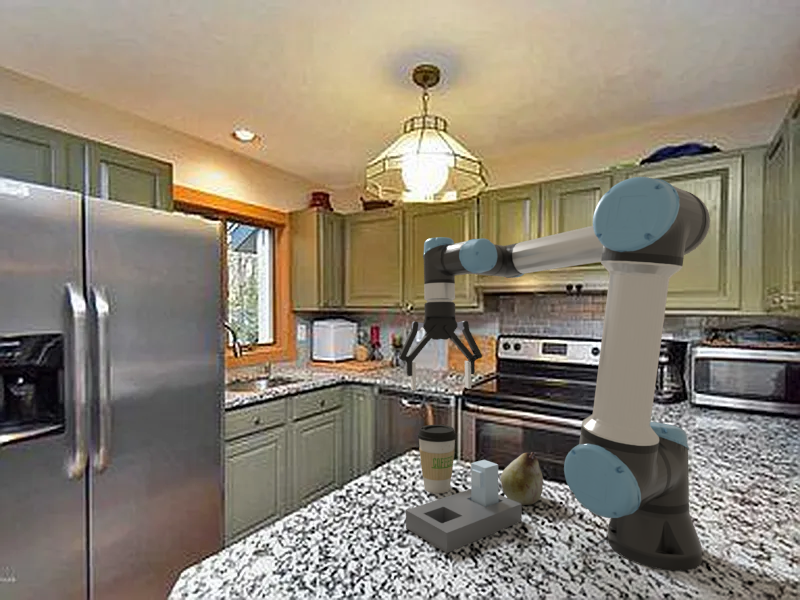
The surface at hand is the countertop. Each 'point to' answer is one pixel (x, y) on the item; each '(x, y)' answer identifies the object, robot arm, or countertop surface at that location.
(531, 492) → the fruit
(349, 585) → the countertop surface
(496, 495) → the plug
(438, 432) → the coffee cup
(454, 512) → the socket panel
